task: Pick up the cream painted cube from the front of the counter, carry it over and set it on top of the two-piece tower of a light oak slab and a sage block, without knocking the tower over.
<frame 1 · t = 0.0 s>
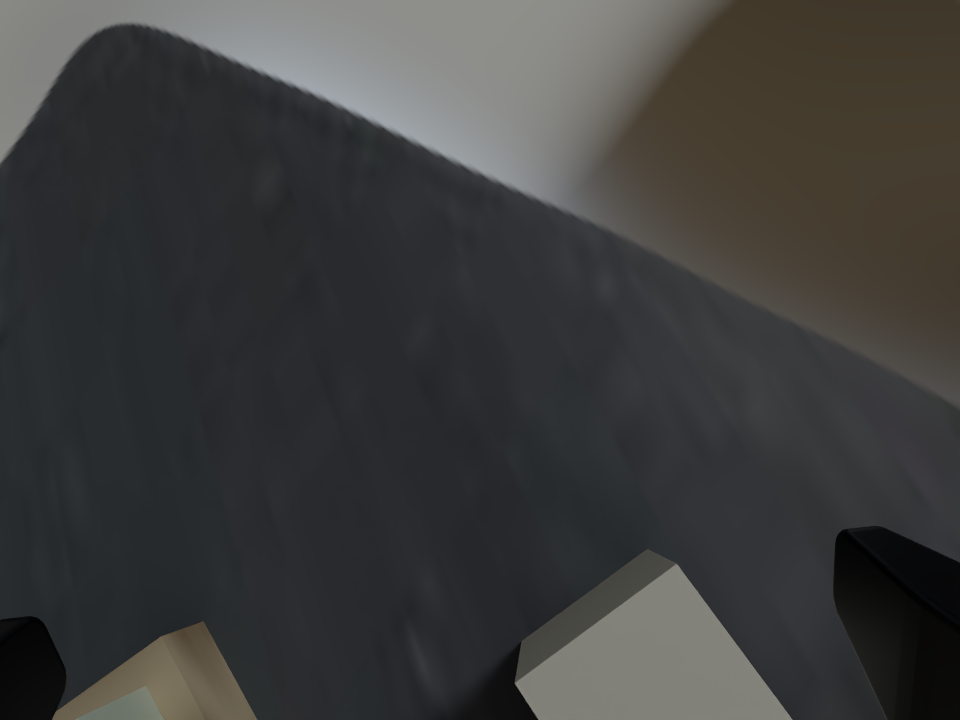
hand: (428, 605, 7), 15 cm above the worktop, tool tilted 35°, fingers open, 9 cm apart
cream block: (632, 663, 21), on the worktop
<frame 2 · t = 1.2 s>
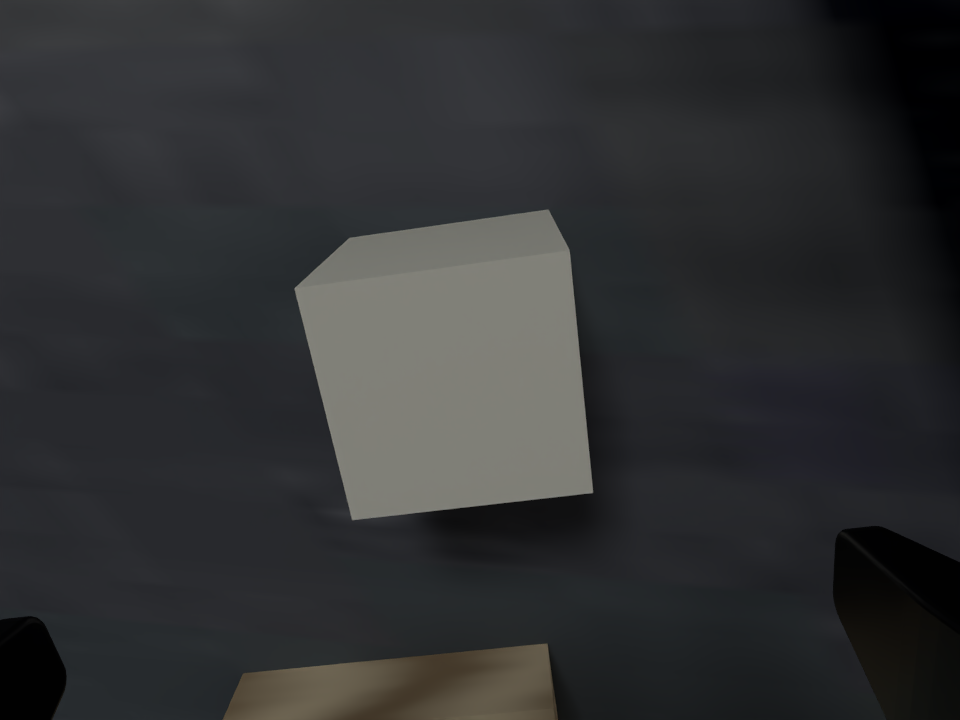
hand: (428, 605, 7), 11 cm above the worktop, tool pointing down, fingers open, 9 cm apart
cream block: (463, 318, 17), on the worktop
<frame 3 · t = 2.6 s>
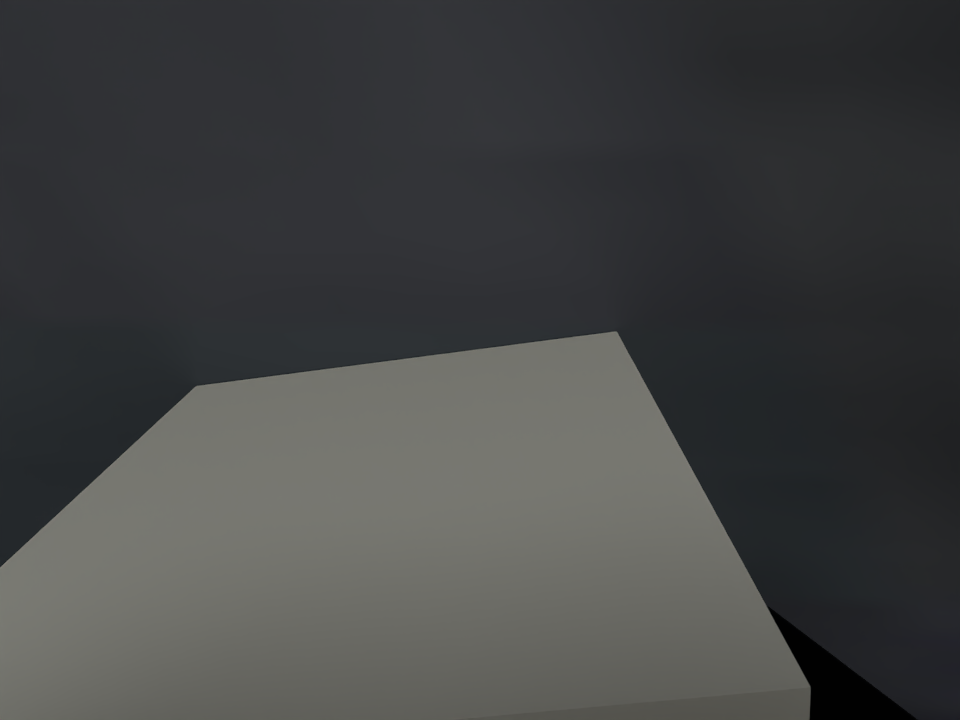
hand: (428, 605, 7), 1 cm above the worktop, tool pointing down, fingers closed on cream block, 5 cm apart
cream block: (437, 538, 9), on the worktop, touching gripper
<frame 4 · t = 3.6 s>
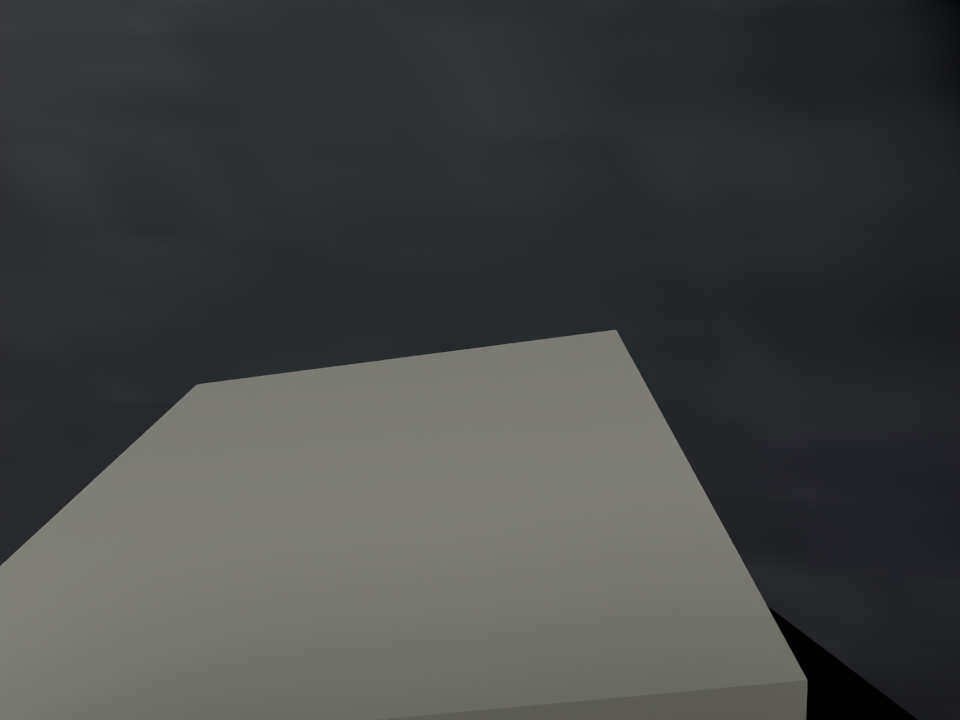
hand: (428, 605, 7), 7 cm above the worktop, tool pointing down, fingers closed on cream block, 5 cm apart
cream block: (437, 536, 9), point 6 cm above the worktop, touching gripper
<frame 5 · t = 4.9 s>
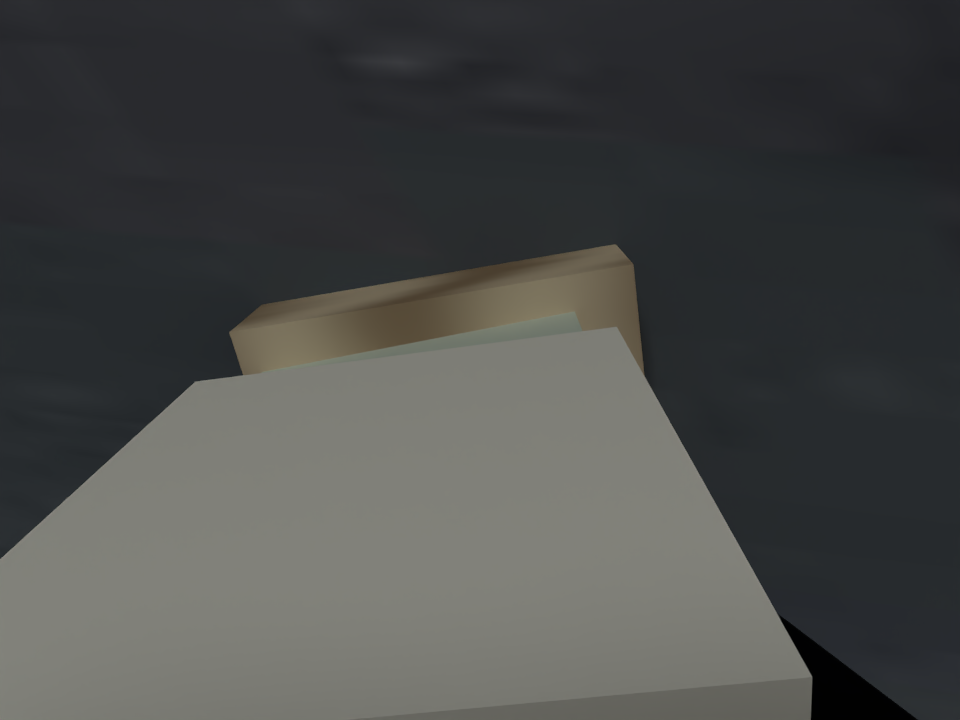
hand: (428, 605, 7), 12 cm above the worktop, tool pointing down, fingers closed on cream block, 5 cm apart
sage block: (450, 480, 18), point 2 cm above the worktop, touching oak slab
cream block: (437, 534, 9), point 11 cm above the worktop, touching gripper
oak slab: (468, 426, 21), on the worktop, touching sage block
when the fingers open (9 cm above the worktop, at t = 6.3 s): cream block stays where it is, point 7 cm above the worktop.
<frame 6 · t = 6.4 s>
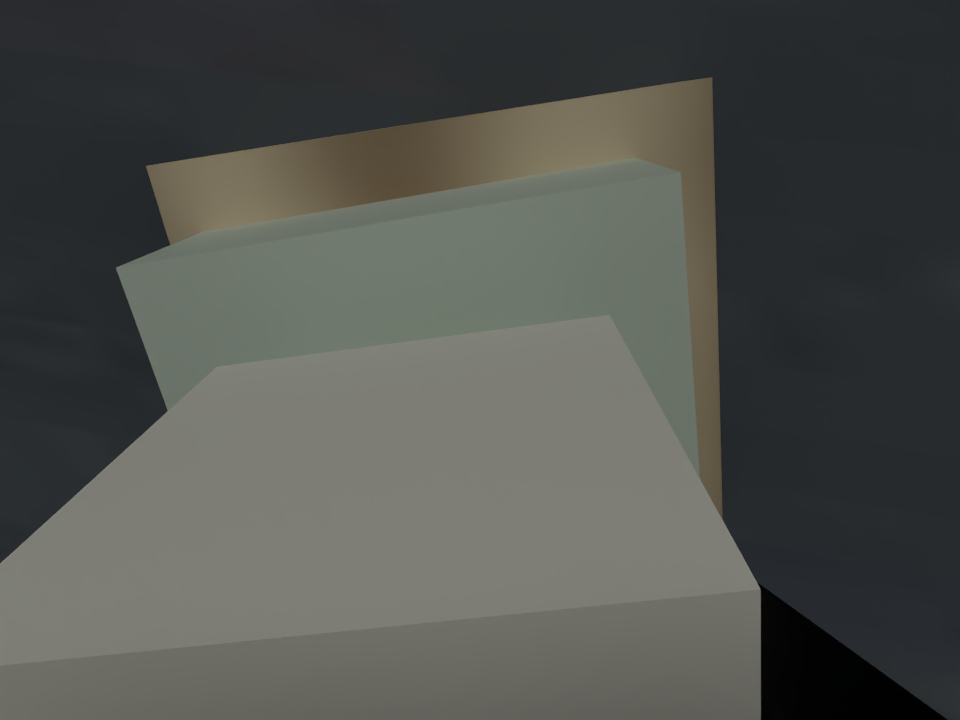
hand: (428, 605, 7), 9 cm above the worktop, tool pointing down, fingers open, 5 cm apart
sage block: (453, 396, 13), point 2 cm above the worktop, touching oak slab
cream block: (441, 511, 9), point 7 cm above the worktop
oak slab: (469, 337, 16), on the worktop, touching sage block
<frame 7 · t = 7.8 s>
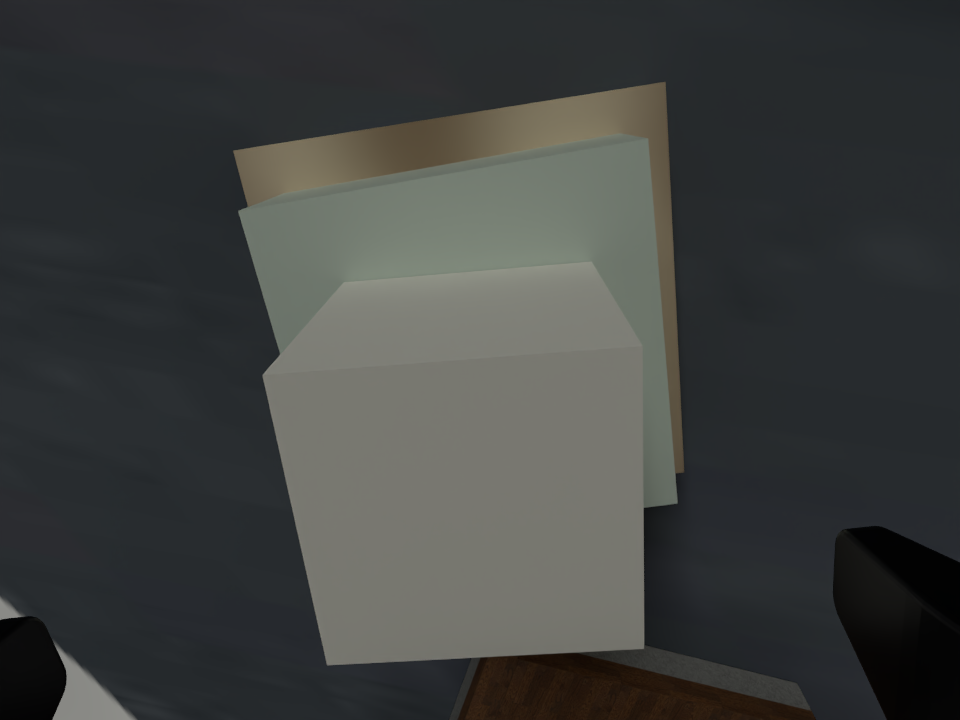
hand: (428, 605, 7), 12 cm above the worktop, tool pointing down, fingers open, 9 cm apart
sage block: (477, 325, 17), point 2 cm above the worktop, touching cream block, oak slab
cream block: (477, 386, 14), point 5 cm above the worktop, touching sage block
oak slab: (479, 293, 20), on the worktop, touching sage block
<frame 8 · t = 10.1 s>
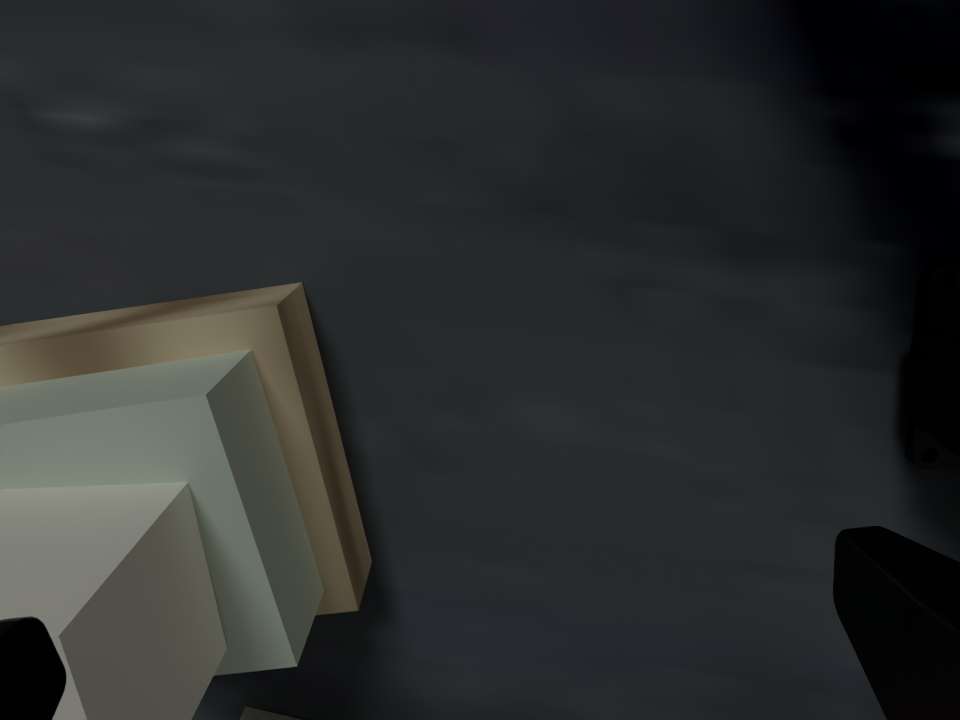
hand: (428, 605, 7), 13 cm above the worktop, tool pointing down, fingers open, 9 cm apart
sage block: (158, 496, 19), point 2 cm above the worktop, touching cream block, oak slab
cream block: (111, 572, 17), point 5 cm above the worktop, touching sage block
oak slab: (197, 444, 22), on the worktop, touching sage block
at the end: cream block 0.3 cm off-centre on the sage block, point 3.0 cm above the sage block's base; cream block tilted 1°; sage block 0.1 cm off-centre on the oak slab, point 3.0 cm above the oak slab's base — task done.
